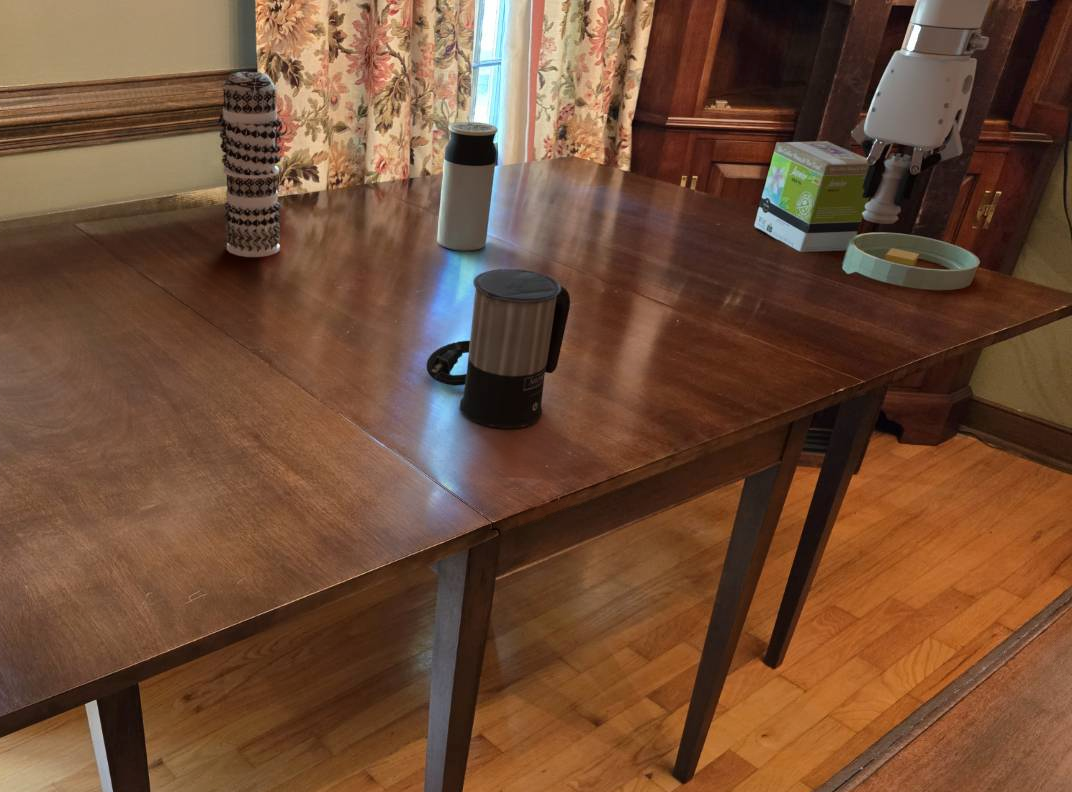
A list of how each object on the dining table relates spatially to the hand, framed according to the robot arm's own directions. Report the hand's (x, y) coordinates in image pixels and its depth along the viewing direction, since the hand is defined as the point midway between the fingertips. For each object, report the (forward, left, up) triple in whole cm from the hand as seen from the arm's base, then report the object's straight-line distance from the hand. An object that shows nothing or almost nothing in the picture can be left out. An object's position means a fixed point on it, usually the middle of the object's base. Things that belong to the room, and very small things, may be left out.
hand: (885, 198), depth 124 cm
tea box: (+24, -30, -17) cm, 42 cm away
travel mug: (+54, +22, -17) cm, 61 cm away
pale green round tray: (+4, -26, -17) cm, 31 cm away
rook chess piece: (0, 0, -3) cm, 3 cm away
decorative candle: (+70, +52, -17) cm, 89 cm away
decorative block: (+4, -22, -16) cm, 28 cm away
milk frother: (+12, +59, -17) cm, 63 cm away
